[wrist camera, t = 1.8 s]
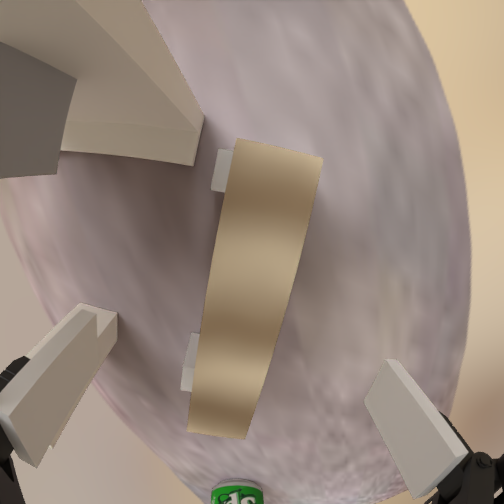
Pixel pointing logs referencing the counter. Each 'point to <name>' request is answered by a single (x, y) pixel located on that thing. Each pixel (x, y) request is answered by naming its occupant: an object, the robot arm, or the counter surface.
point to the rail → (250, 282)
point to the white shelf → (89, 101)
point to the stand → (189, 362)
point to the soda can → (237, 492)
